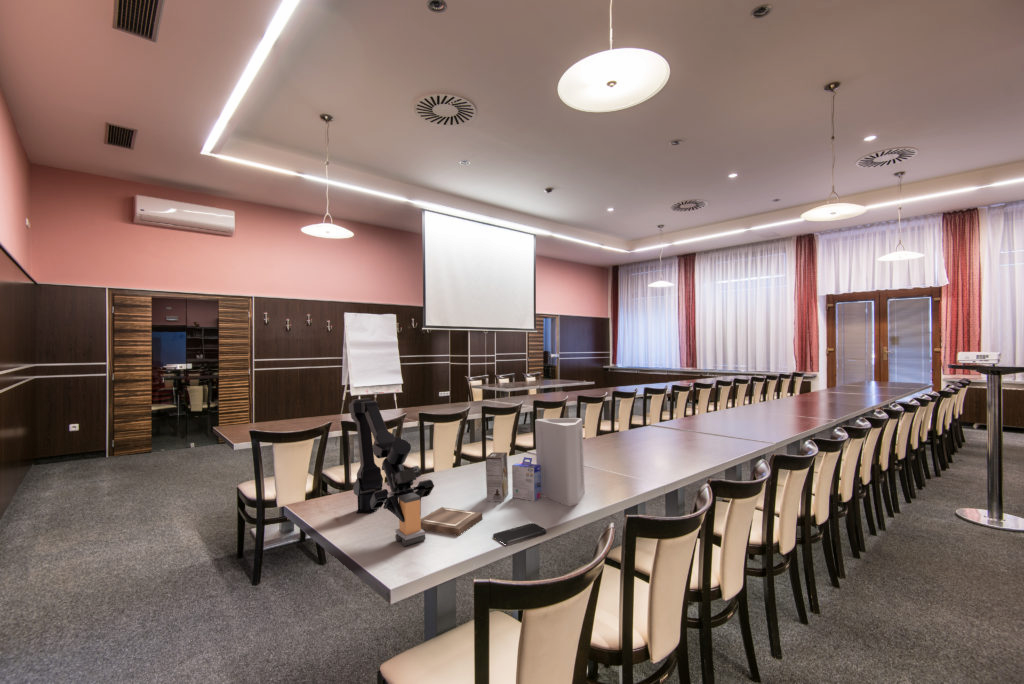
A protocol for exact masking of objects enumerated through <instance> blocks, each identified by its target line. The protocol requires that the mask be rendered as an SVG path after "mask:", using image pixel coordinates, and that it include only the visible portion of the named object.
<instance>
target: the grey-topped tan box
mask: <svg viewBox="0 0 1024 684" xmlns="http://www.w3.org/2000/svg"><path fill="white" fill-rule="evenodd" d="M398 502H399V505H400V507H401V510H402V512H403V515H404V519H405V521H404V522H402V521H401V520H400V519H399V518H398V519H399V520H398V521H399V523H398V524H399V525H398V526H399V528H396V529H395V537H394V539H395V541H396V542H400V541H401V545H402V546H403V547H406V546H410V545H414V544H416V543H420V542H423V541H425V540H426V530H424V529H421V519H422V517H421V516H420V496H419V495H417V494H415V493H409V494H405V495H400V496H399V498H398Z"/></svg>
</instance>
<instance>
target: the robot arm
mask: <svg viewBox="0 0 1024 684" xmlns="http://www.w3.org/2000/svg"><path fill="white" fill-rule="evenodd" d="M379 406H380V405H379V402H378V401H377V400H372V399H371V398H370V397H368V398H366V397H365V398H358V399H357V398H355V399H352V400H351V402H349V403H348V411H349V413H350V418H351V419H352V421H353V422H354V423H355V425H356V431H357V440H358V442H357V443H358V451H359V452H358V453H359V460H360V466H359V469H358V470H357V473H356V479H355V482H354V485H353V488H352V491H353V494H354V495H355V496H357V510H356V511H355V513H356V514H373V513H375V512H376V511H377V510H379V509H380V508H381V509H382V507H383V510H388V511H389V512H391V513H392V514H393V515H394V516H395V517H396V518H398V519H400V520H401V521H402V522H404V521H405V519H404V515H403V512H402V510H401V507H400V505H399V496H400V495H405V494H409V493H415V494H417V495H419V496H420V517H421V516H422V513H421V511H422V510H421V508H422V507H421V506H422V503H421V502H422V498H425V497H426V498H427V497H428V496H429V495H431V494H432V493H431V492H432V491H433V490H434V489H435V484H434V482H433V480H431V479H424V480H421V481H419V482H418V484H417V486H414V487H412V486H413V484H414V481H416V480H417V479H418V478H419V477H421V476H422V472H421V469H420V467H419V465H415V466H412V467H411V468H410V469H405V468H404V463H405V462H406V459H407V458H408V456H409V454H410V452H411V450H412V449H411V448H412V445H411V443H410V442H409V441H407V440H405V439H402V437H401V436H395V435H394V434H393V433H391V432H390V431H389V430H388V428H387V426H386V423H385V421H384V418H383V416H382V414H381V411H380V407H379ZM375 457H376V458H377V459H383V461H382V464H381V467H380V466H378V465H377V464H376V462H375ZM382 471H384V473H385V476H386V479H387V481H386V485H387V486H388V487H389V488H390V491H388V489H387V488H384V489H383V484H384V483H383V482H384V478H383V475H382Z"/></svg>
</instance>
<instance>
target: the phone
mask: <svg viewBox="0 0 1024 684" xmlns="http://www.w3.org/2000/svg"><path fill="white" fill-rule="evenodd" d="M546 534H548V532H547V529H546V528H544V527H542V526H540V525H539V524H537V523H533V522H531V523H528V524H523V525H521V526H517V527H516V526H515V527H512V528H508V529H505V530H502V531H498V532H495V533H493V534H492V538H493V537H494V538H496V539H497V540H499V541H501V542H503V543H504V544H506V545H505V546H510V545H514V544H516V543H520V542H524V541H527V540H529V539H533V538H537V537H540V536H543V535H546ZM494 538H493V539H494ZM496 539H495V540H496ZM499 541H498V542H499Z"/></svg>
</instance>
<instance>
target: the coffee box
mask: <svg viewBox="0 0 1024 684" xmlns="http://www.w3.org/2000/svg"><path fill="white" fill-rule="evenodd" d="M508 471H509V470H508V452H507V451H506V452H505V451H504V452H497V451H496V452H493V451H492V452H490V453H489V454H488V455H487V456H486V457H485V475H486V476H485V477H486V478H485V480H486V481H485V482H486V501H487V502H491V501H499V502H500V501H501V502H500V503H503V502H504V501H505V500H506V498H507V497H508V495H509V476H508V475H509V474H508V473H509V472H508ZM499 502H498V503H499Z"/></svg>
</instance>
